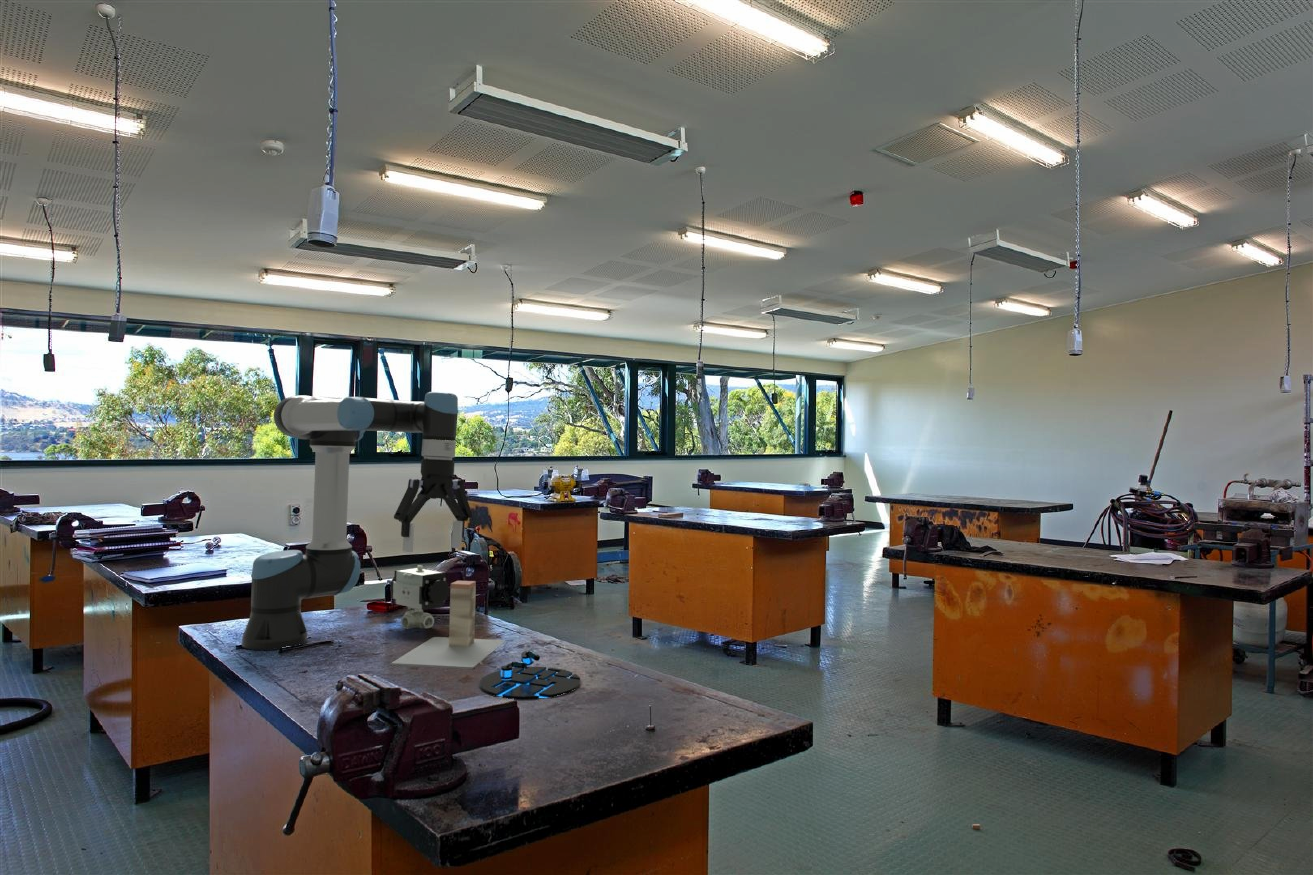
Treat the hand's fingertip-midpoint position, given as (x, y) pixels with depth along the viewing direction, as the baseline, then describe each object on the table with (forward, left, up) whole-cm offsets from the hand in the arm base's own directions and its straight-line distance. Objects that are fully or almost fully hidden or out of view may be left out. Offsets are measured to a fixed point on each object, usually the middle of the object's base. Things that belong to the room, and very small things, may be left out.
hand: (432, 549), depth 177 cm
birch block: (-13, +18, -27) cm, 35 cm away
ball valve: (-39, +21, -28) cm, 52 cm away
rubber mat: (-9, +12, -28) cm, 32 cm away
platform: (+24, +10, -28) cm, 39 cm away
